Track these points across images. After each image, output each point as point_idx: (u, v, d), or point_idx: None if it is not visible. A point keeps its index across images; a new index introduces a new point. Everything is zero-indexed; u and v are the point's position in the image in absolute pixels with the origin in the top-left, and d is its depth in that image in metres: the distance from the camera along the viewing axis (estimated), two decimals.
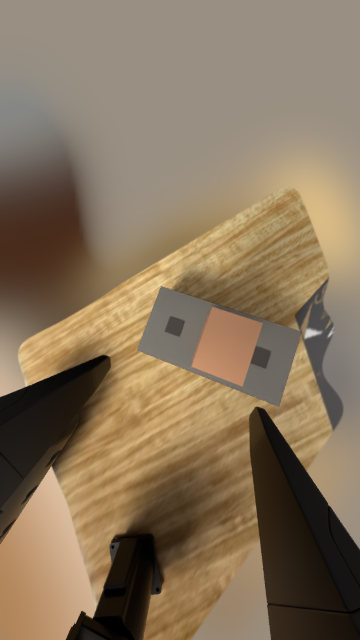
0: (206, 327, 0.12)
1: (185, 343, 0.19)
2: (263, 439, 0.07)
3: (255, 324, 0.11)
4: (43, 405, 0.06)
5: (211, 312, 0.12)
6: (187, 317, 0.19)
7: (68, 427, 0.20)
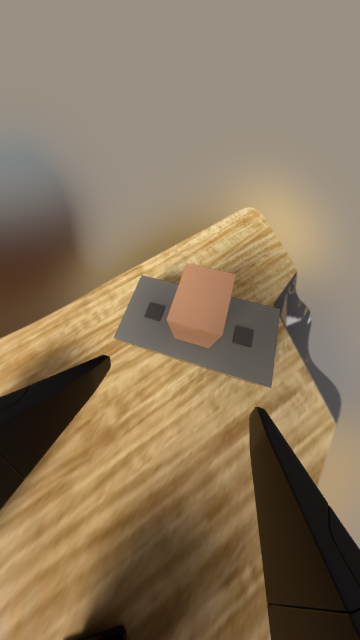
0: (181, 281, 0.11)
1: (165, 327, 0.18)
2: (263, 439, 0.07)
3: (229, 275, 0.11)
4: (43, 405, 0.06)
5: (185, 268, 0.12)
6: (168, 302, 0.19)
7: None
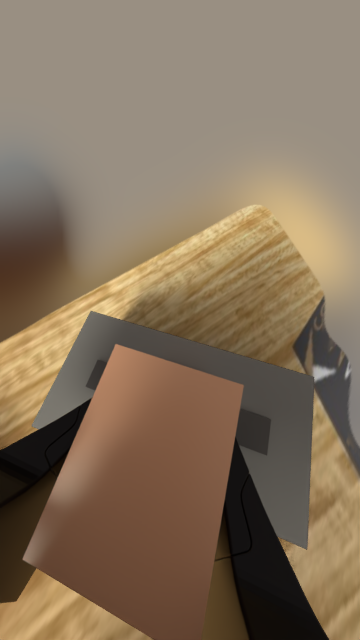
0: (94, 403, 0.04)
1: None
2: None
3: (224, 389, 0.04)
4: None
5: (112, 359, 0.05)
6: None
7: None
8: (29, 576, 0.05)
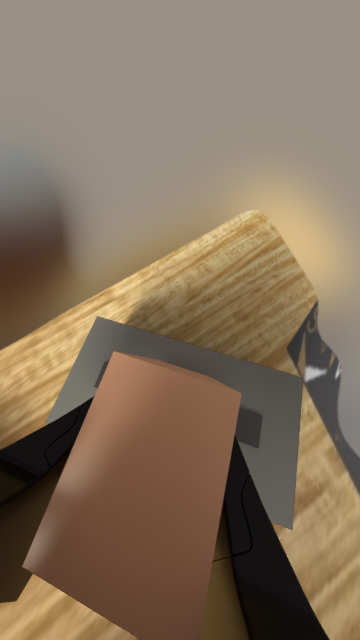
0: (92, 411, 0.04)
1: None
2: None
3: (222, 398, 0.04)
4: None
5: (110, 366, 0.05)
6: None
7: None
8: (29, 576, 0.05)
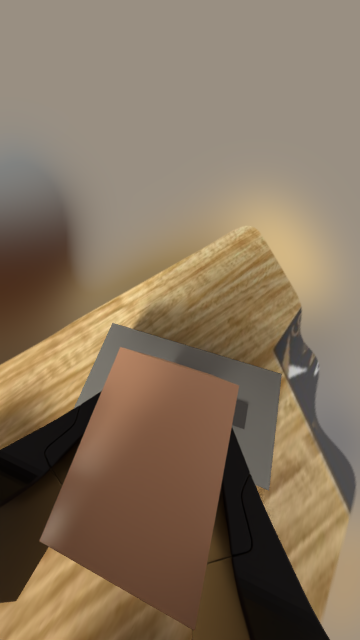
0: (101, 402, 0.05)
1: None
2: None
3: (221, 389, 0.04)
4: None
5: (117, 361, 0.05)
6: None
7: None
8: (29, 576, 0.05)
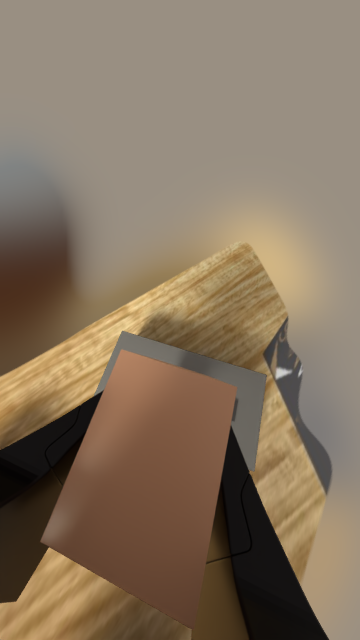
0: (102, 403, 0.05)
1: None
2: None
3: (219, 391, 0.05)
4: None
5: (118, 363, 0.05)
6: None
7: None
8: (29, 576, 0.05)
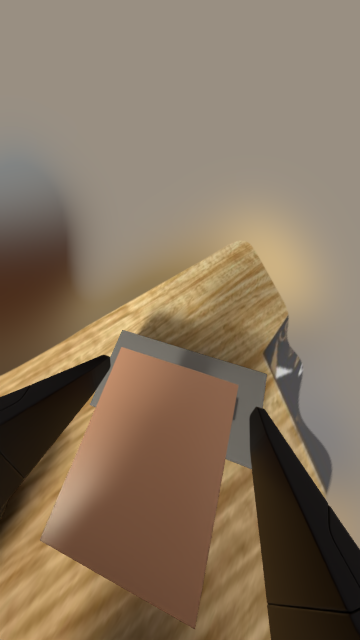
0: (102, 401, 0.05)
1: None
2: (263, 439, 0.07)
3: (221, 389, 0.05)
4: (43, 405, 0.06)
5: (118, 361, 0.05)
6: None
7: None
8: None
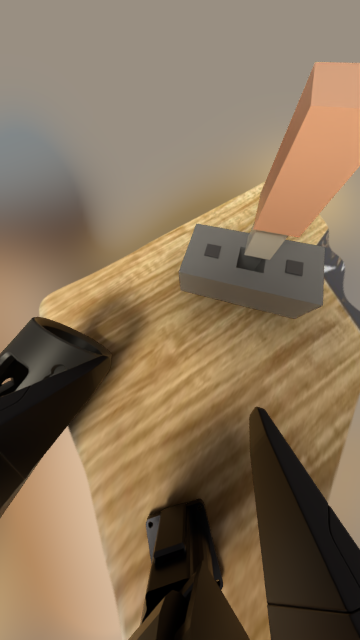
0: (315, 76, 0.08)
1: (224, 262, 0.20)
2: (263, 439, 0.07)
3: None
4: (43, 405, 0.06)
5: (316, 65, 0.09)
6: (223, 243, 0.21)
7: None
8: None
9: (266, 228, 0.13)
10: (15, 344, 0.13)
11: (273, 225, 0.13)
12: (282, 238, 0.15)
